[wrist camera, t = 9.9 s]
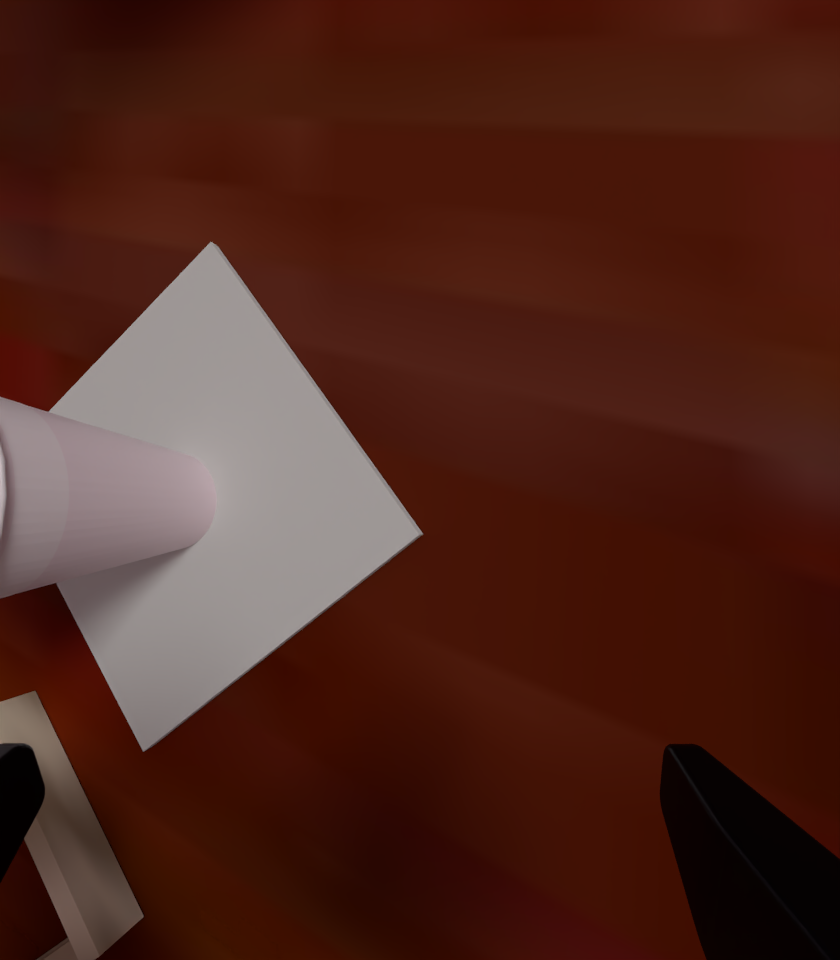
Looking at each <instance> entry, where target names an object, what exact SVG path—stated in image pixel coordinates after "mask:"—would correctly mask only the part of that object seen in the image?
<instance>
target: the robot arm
mask: <svg viewBox="0 0 840 960" xmlns="http://www.w3.org/2000/svg"><path fill="white" fill-rule="evenodd" d="M44 797H45V784H44V781H43V778H42V775H41V771H40V768H39V765H38V762H37V759H36V756H35V753H34V750H33V748H32V747H31V746H30V745H28V744H25V743H3V744H0V883H1V881H2V879H3V877H4V875H5V873H6V871H7V870H8V868H9V866H10V864H11V862H12V860H13V858H14V857H15V855H16V853H17V851H18V849H19V847H20V845H21V844H22V842H23V840H24V838H25V836H26V834H27V832H28V830H29V829H30V827H31V825H32V823H33V821H34V819H35V817H36V816H37V814H38V812H39V810H40V808H41V806H42V804H43V801H44ZM660 802H661V808H662V812H663V816H664V819H665V823H666V826H667V830H668V833H669V837H670V840H671V844H672V847H673V851H674V854H675V858H676V861H677V865H678V868H679V872H680V875H681V879H682V882H683V885H684V889H685V892H686V896H687V899H688V903H689V906H690V910H691V913H692V917H693V920H694V924H695V927H696V930H697V933H698V937H699V940H700V943H701V946H702V948H703V951H704V954H705V957H706V959H707V960H840V859H839V858H838V857H836V856H835V855H834V854H833V853H831V852H830V851H829V850H828V849H826V848H825V847H824V846H823V845H822V844H820V843H819V842H818V841H817V840H815V839H814V838H813V837H812V836H810V835H809V834H808V833H807V832H806V831H804V830H803V829H802V828H801V827H799V826H798V825H797V824H796V823H794V822H793V821H792V820H791V819H790V818H788V817H787V816H786V815H785V814H783V813H782V812H781V811H780V810H778V809H777V808H776V807H775V806H774V805H772V804H771V803H770V802H769V801H767V800H766V799H765V798H764V797H762V796H761V795H760V794H759V793H758V792H756V791H755V790H754V789H753V788H751V787H750V786H749V785H748V784H746V783H745V782H744V781H743V780H742V779H740V778H739V777H738V776H737V775H735V774H734V773H733V772H732V771H730V770H729V769H728V768H727V767H726V766H724V765H723V764H722V763H721V762H719V761H718V760H717V759H716V758H714V757H713V756H712V755H711V754H710V753H708V752H707V751H706V750H705V749H703V748H702V747H700V746H698V745H695V744H669V745H668V746H666V748H665V750H664V754H663V764H662V774H661V784H660Z"/></svg>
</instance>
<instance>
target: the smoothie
mask: <svg viewBox="0 0 840 960" xmlns="http://www.w3.org/2000/svg"><path fill="white" fill-rule="evenodd" d="M216 503H217V497H216V489H215V484H214V481H213V479H212V476H211V474H210V473H209V471H208V469H207V468H206V467H205V466H204V464H203V463H201V462H200V461H199V460H198V459H196V458H195V457H193V456H190V455H187V454H184V453H181V452H177V451H174V450H171V449H168V448H164V447H161V446H158V445H154V444H151V443H148V442H145V441H141V440H138V439H135V438H131V437H128V436H125V435H122V434H118V433H115V432H112V431H109V430H105V429H102V428H99V427H95V426H92V425H89V424H86V423H82V422H79V421H76V420H72V419H69V418H66V417H63V416H59V415H56V414H53V413H50V412H46V411H43V410H40V409H36V408H33V407H30V406H27V405H23V404H21V403H18V402H15V401H12V400H8V399H5V398H1V397H0V598H4V597H8V596H11V595H13V594H17V593H21V592H24V591H28V590H32V589H35V588H39V587H43V586H46V585H50V584H54V583H57V582H61V581H65V580H68V579H72V578H76V577H80V576H83V575H87V574H91V573H94V572H98V571H102V570H105V569H109V568H113V567H116V566H120V565H124V564H127V563H131V562H135V561H138V560H142V559H146V558H150V557H153V556H157V555H161V554H164V553H168V552H172V551H175V550H179V549H183V548H186V547H189V546H191V545H193V544H195V543H196V542H198V541H199V540H200V539H201V538H202V537H203V536H204V535H205V534H206V532H207V531H208V529H209V527H210V526H211V524H212V521H213V518H214V515H215V511H216Z"/></svg>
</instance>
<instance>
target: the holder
mask: <svg viewBox="0 0 840 960" xmlns="http://www.w3.org/2000/svg"><path fill="white" fill-rule="evenodd" d="M3 743H25V744H28V745H30V746H31V747H32V748H33V750H34V753H35V756H36V759H37V762H38V765H39V768H40V771H41V775H42V778H43V781H44V784H45V797H44V801H43V804H42V806H41V808H40V810H39V812H38V814H37V816H36V817H35V819H34V821H33V823H32V825H31V827H30V829H29V830H28V832H27V834H26V836H25V838H24V840H25V842H26V844H27V846H28V849H29V851H30V853H31V855H32V858H33V860H34V862H35V864H36V866H37V869H38V871H39V873H40V875H41V878H42V880H43V882H44V884H45V887H46V889H47V891H48V893H49V896H50V898H51V900H52V902H53V905H54V907H55V909H56V911H57V914H58V916H59V918H60V920H61V923H62V925H63V927H64V929H65V932H66V934H67V936H68V938H66V939H65V940H63V941H62V942H60V943H59V944H58V945H56V946H55V947H53V948H52V949H51V950H49V951H48V952H46V953H45V954H44V955H42V956H41V957H39V958H38V959H36V960H95V959H96V958H98V957H99V956H100V955H102V954H103V953H104V952H105V951H106V950H107V949H108V948H109V947H111V946H112V945H113V944H114V943H115V942H116V941H117V940H118V939H119V938H121V937H122V936H123V935H124V934H125V933H126V932H127V931H128V930H130V929H131V928H132V927H133V926H134V925H135V924H136V923H137V922H138V921H140V920H141V919H142V918H143V917H144V916H143V913H142V911H141V909H140V907H139V905H138V903H137V901H136V899H135V897H134V895H133V893H132V891H131V889H130V886H129V884H128V882H127V880H126V878H125V876H124V874H123V872H122V870H121V868H120V866H119V864H118V862H117V859H116V857H115V855H114V853H113V851H112V849H111V847H110V845H109V843H108V841H107V839H106V837H105V835H104V832H103V830H102V828H101V826H100V824H99V822H98V820H97V818H96V816H95V814H94V812H93V810H92V808H91V805H90V803H89V801H88V799H87V797H86V795H85V793H84V791H83V789H82V787H81V785H80V783H79V781H78V778H77V776H76V774H75V772H74V770H73V768H72V766H71V764H70V762H69V760H68V758H67V756H66V754H65V752H64V749H63V747H62V745H61V743H60V741H59V739H58V737H57V735H56V733H55V731H54V729H53V727H52V725H51V722H50V720H49V718H48V716H47V714H46V712H45V710H44V708H43V706H42V704H41V702H40V700H39V698H38V695H37V693H36V691H33V692H30V693H27V694H24V695H20V696H17V697H14V698H11V699H8V700H5V701H2V702H0V744H3Z"/></svg>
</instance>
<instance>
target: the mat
mask: <svg viewBox="0 0 840 960" xmlns="http://www.w3.org/2000/svg"><path fill="white" fill-rule="evenodd" d="M49 412H50V413H53V414H56V415H59V416H63V417H66V418H69V419H72V420H76V421H79V422H82V423H86V424H89V425H92V426H95V427H99V428H102V429H105V430H109V431H112V432H115V433H118V434H122V435H125V436H128V437H131V438H135V439H138V440H141V441H145V442H148V443H151V444H154V445H158V446H161V447H164V448H168V449H171V450H174V451H177V452H181V453H184V454H187V455H190V456H193V457H195V458H196V459H198V460H199V461H200V462H201V463H203V464H204V466H205V467H206V468H207V469H208V471H209V473H210V474H211V476H212V479H213V481H214V484H215V489H216V497H217V503H216V511H215V515H214V518H213V521H212V524H211V526H210V527H209V529H208V531H207V532H206V534H205V535H204V536H203V537H202V538H201V539H200V540H199V541H198V542H196V543H195V544H193V545H191V546H189V547H186V548H183V549H179V550H175V551H172V552H168V553H164V554H161V555H157V556H153V557H150V558H146V559H142V560H138V561H135V562H131V563H127V564H124V565H120V566H116V567H113V568H109V569H105V570H102V571H98V572H94V573H91V574H87V575H83V576H80V577H76V578H72V579H68V580H65V581H61V582H57V583H56V584H57V586H58V588H59V590H60V592H61V594H62V596H63V598H64V599H65V601H66V603H67V605H68V607H69V609H70V611H71V613H72V615H73V617H74V619H75V621H76V623H77V625H78V627H79V628H80V630H81V632H82V634H83V636H84V638H85V640H86V642H87V644H88V646H89V648H90V650H91V652H92V654H93V656H94V657H95V659H96V661H97V663H98V665H99V667H100V669H101V671H102V673H103V675H104V677H105V679H106V681H107V683H108V685H109V686H110V688H111V690H112V692H113V694H114V696H115V698H116V700H117V702H118V704H119V706H120V708H121V710H122V712H123V714H124V715H125V717H126V719H127V721H128V723H129V725H130V727H131V729H132V731H133V733H134V735H135V737H136V739H137V741H138V743H139V744H140V746H141V748H142V750H143V752H144V751H146V750H148V749H149V748H151V747H153V746H154V745H155V744H156V743H158V742H159V741H160V740H161V739H163V738H164V737H165V736H167V735H168V734H169V733H170V732H172V731H173V730H174V729H175V728H177V727H178V726H179V725H181V724H182V723H183V722H184V721H186V720H187V719H188V718H189V717H191V716H192V715H193V714H195V713H196V712H197V711H198V710H200V709H201V708H202V707H204V706H205V705H206V704H207V703H209V702H210V701H211V700H212V699H214V698H215V697H216V696H218V695H219V694H220V693H221V692H223V691H224V690H225V689H226V688H228V687H229V686H230V685H232V684H233V683H234V682H235V681H237V680H238V679H239V678H240V677H242V676H243V675H244V674H246V673H247V672H248V671H249V670H251V669H252V668H253V667H254V666H256V665H257V664H258V663H260V662H261V661H262V660H263V659H265V658H266V657H267V656H269V655H270V654H271V653H272V652H274V651H275V650H276V649H277V648H279V647H280V646H281V645H283V644H284V643H285V642H286V641H288V640H289V639H290V638H291V637H293V636H294V635H295V634H297V633H298V632H299V631H300V630H302V629H303V628H304V627H305V626H307V625H308V624H309V623H311V622H312V621H313V620H314V619H316V618H317V617H318V616H319V615H321V614H322V613H323V612H325V611H326V610H327V609H328V608H330V607H331V606H332V605H334V604H335V603H336V602H337V601H339V600H340V599H341V598H342V597H344V596H345V595H346V594H348V593H349V592H350V591H351V590H353V589H354V588H355V587H356V586H358V585H359V584H360V583H362V582H363V581H364V580H365V579H367V578H368V577H369V576H370V575H372V574H373V573H374V572H376V571H377V570H378V569H379V568H381V567H382V566H383V565H384V564H386V563H387V562H388V561H390V560H391V559H392V558H393V557H395V556H396V555H397V554H398V553H400V552H401V551H402V550H404V549H405V548H406V547H407V546H409V545H410V544H411V543H413V542H414V541H415V540H416V539H418V538H419V537H420V536H421V535H423V533H422V532H421V530H420V529H419V528H418V526H417V525H416V523H415V522H414V521H413V519H412V518H411V516H410V515H409V514H408V512H407V511H406V509H405V508H404V507H403V505H402V504H401V502H400V501H399V500H398V498H397V497H396V495H395V494H394V493H393V491H392V490H391V488H390V487H389V486H388V484H387V483H386V481H385V480H384V479H383V477H382V476H381V474H380V473H379V472H378V470H377V469H376V467H375V466H374V465H373V463H372V462H371V460H370V459H369V458H368V456H367V455H366V453H365V452H364V451H363V449H362V448H361V446H360V445H359V444H358V442H357V441H356V439H355V438H354V436H353V435H352V434H351V432H350V431H349V429H348V428H347V427H346V425H345V424H344V422H343V421H342V420H341V418H340V417H339V415H338V414H337V413H336V411H335V410H334V408H333V407H332V406H331V404H330V403H329V401H328V400H327V399H326V397H325V396H324V394H323V393H322V392H321V390H320V389H319V387H318V386H317V385H316V383H315V382H314V380H313V379H312V378H311V376H310V375H309V373H308V372H307V371H306V369H305V368H304V366H303V365H302V364H301V362H300V361H299V359H298V358H297V357H296V355H295V354H294V352H293V351H292V350H291V348H290V347H289V345H288V344H287V343H286V341H285V340H284V338H283V337H282V336H281V334H280V333H279V331H278V330H277V329H276V327H275V326H274V324H273V323H272V322H271V320H270V319H269V317H268V316H267V315H266V313H265V312H264V310H263V309H262V308H261V306H260V305H259V303H258V302H257V301H256V299H255V298H254V296H253V295H252V294H251V292H250V291H249V289H248V288H247V287H246V285H245V284H244V282H243V281H242V280H241V278H240V277H239V275H238V274H237V273H236V271H235V270H234V268H233V267H232V266H231V264H230V263H229V261H228V260H227V259H226V257H225V256H224V254H223V253H222V252H221V250H220V249H219V247H218V246H217V245H215V244H214V243H212V242H210V243H209V244H208V245H207V246H206V248H205V249H204V250H203V251H202V252H201V253H200V254H199V255H198V256H197V257H196V258H195V259H194V260H193V261H192V262H191V263H190V264H189V265H188V266H187V267H186V268H185V270H184V271H183V272H182V273H181V274H180V275H179V276H178V277H177V278H176V279H175V280H174V281H173V282H172V283H171V284H170V285H169V286H168V287H167V288H166V289H165V290H164V292H163V293H162V294H161V295H160V296H159V297H158V298H157V299H156V300H155V301H154V302H153V303H152V304H151V305H150V306H149V307H148V308H147V309H146V310H145V311H144V312H143V313H142V315H141V316H140V317H139V318H138V319H137V320H136V321H135V322H134V323H133V324H132V325H131V326H130V327H129V328H128V329H127V330H126V331H125V332H124V333H123V334H122V335H121V337H120V338H119V339H118V340H117V341H116V342H115V343H114V344H113V345H112V346H111V347H110V348H109V349H108V350H107V351H106V352H105V353H104V354H103V355H102V356H101V357H100V359H99V360H98V361H97V362H96V363H95V364H94V365H93V366H92V367H91V368H90V369H89V370H88V371H87V372H86V373H85V374H84V375H83V376H82V377H81V378H80V379H79V381H78V382H77V383H76V384H75V385H74V386H73V387H72V388H71V389H70V390H69V391H68V392H67V393H66V394H65V395H64V396H63V397H62V398H61V399H60V400H59V401H58V402H57V404H56V405H55V406H54V407H53V408H52V409H51V410H50V411H49Z"/></svg>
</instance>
